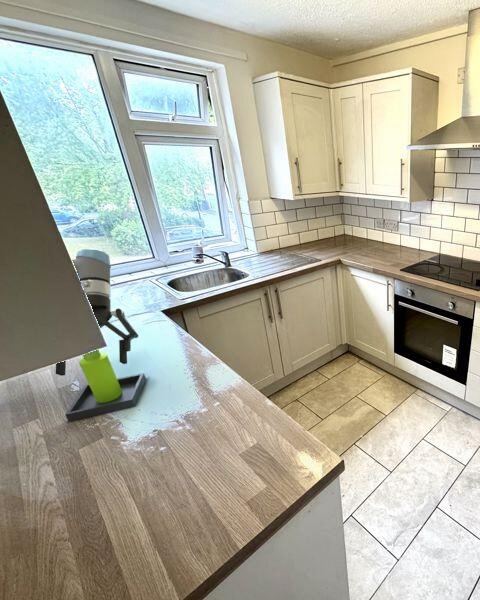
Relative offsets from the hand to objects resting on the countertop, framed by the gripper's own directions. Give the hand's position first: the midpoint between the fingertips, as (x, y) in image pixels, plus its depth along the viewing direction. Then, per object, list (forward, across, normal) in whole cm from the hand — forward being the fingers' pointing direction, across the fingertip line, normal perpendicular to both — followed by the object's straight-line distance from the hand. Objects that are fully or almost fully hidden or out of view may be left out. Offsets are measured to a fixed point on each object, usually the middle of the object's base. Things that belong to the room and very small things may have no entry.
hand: (92, 368), depth 90 cm
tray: (+7, 0, +10) cm, 12 cm away
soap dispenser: (+7, 0, +9) cm, 12 cm away
